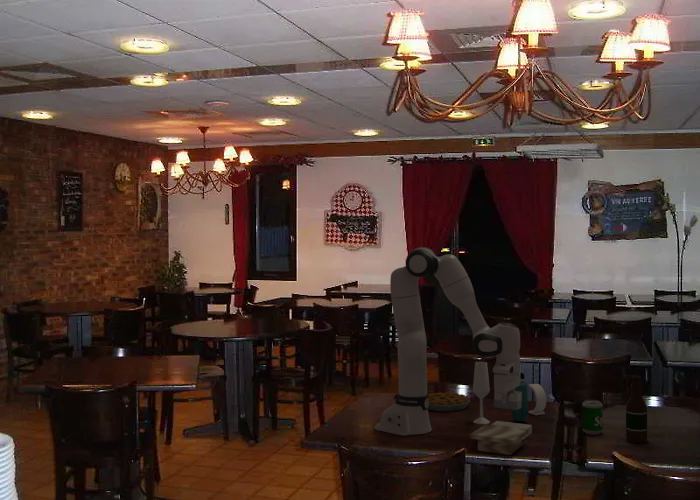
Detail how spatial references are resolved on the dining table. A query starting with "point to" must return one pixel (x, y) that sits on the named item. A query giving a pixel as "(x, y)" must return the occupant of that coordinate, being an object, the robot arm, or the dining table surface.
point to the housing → (509, 400)
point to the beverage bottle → (523, 411)
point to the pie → (447, 401)
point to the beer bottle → (636, 414)
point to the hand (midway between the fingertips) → (507, 401)
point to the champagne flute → (481, 387)
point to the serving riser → (499, 438)
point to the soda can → (592, 417)
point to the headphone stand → (538, 399)
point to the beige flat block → (515, 426)
